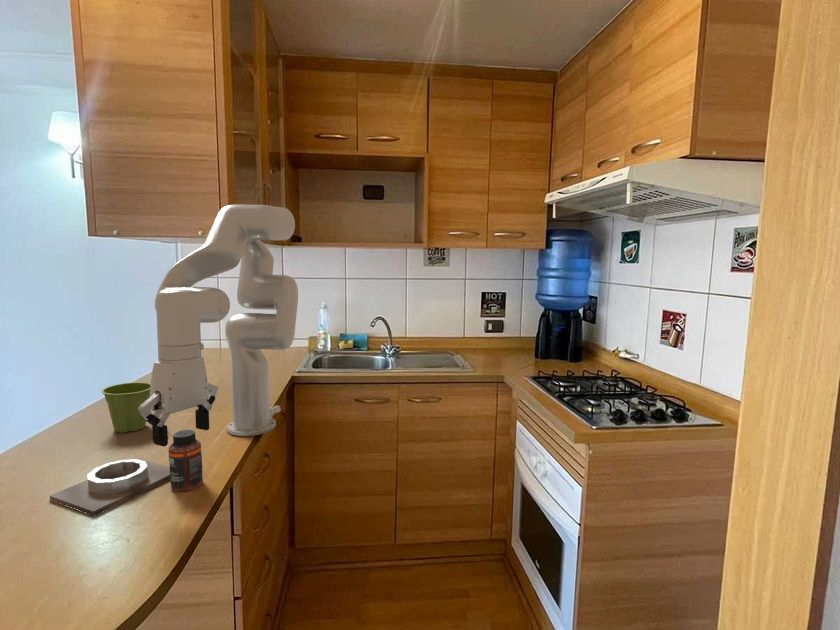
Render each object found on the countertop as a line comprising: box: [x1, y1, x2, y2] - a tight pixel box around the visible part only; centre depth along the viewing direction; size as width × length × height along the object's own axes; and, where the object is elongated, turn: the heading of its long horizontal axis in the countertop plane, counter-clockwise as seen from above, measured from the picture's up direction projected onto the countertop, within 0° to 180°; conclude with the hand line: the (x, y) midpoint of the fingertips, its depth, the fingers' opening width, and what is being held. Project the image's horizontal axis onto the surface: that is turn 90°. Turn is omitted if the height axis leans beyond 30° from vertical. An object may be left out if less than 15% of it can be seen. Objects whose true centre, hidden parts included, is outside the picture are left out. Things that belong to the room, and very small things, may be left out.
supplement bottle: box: [168, 429, 204, 493], centre depth 94 cm, size 6×6×11 cm
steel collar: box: [86, 458, 148, 495], centre depth 94 cm, size 10×10×2 cm
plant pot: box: [100, 381, 151, 434], centre depth 124 cm, size 12×12×11 cm
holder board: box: [49, 458, 170, 517], centre depth 94 cm, size 18×13×1 cm
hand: (182, 436), depth 93 cm, fingers open, 9 cm apart
